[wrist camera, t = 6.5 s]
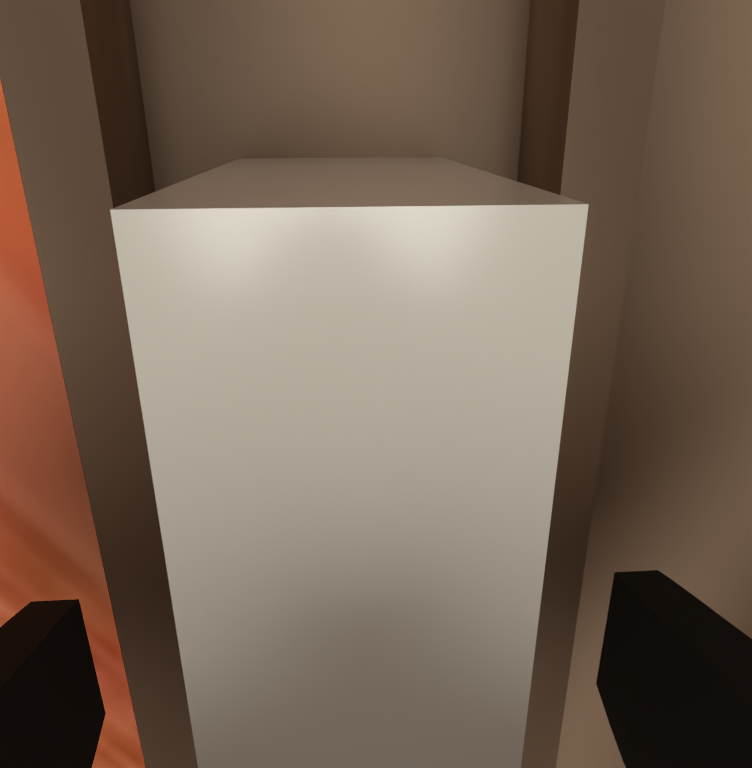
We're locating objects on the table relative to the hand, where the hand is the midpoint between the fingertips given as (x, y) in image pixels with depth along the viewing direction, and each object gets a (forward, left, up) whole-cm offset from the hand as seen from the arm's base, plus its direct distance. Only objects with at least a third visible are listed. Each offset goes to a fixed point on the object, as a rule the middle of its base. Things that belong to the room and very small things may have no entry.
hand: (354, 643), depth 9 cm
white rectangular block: (0, 0, -3) cm, 3 cm away
